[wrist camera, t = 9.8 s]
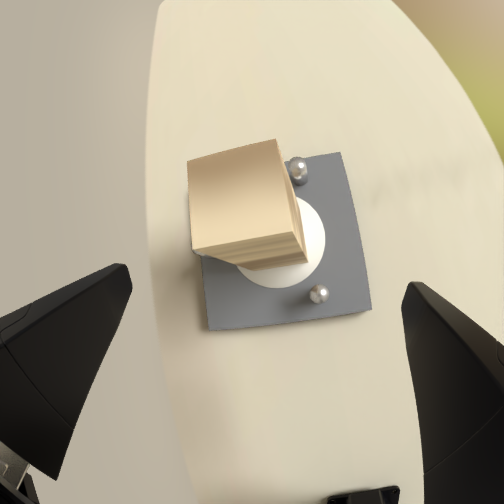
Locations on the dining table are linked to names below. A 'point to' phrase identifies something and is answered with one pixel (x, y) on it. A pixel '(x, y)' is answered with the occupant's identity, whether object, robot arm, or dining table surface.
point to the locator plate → (299, 275)
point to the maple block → (246, 208)
